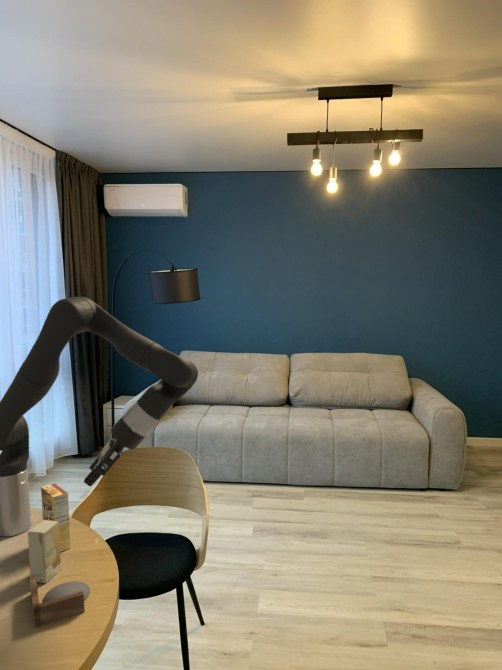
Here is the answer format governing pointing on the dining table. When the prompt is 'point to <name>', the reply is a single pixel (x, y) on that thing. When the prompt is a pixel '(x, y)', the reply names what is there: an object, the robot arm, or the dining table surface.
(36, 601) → the corner guide
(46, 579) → the skincare box
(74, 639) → the dining table surface
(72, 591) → the pad
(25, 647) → the dining table surface
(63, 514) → the candy box
